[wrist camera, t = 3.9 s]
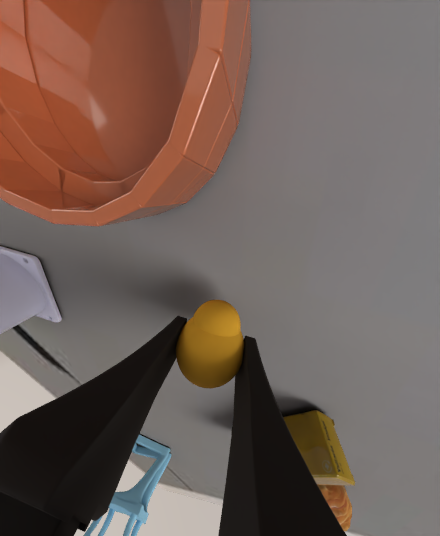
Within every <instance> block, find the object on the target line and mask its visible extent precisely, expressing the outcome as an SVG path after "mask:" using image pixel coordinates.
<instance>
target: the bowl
mask: <svg viewBox="0 0 440 536" xmlns="http://www.w3.org/2000/svg"><path fill="white" fill-rule="evenodd" d="M250 58H251V22H250V0H0V198H1V199H2V200H4V201H5V202H6V203H8V204H10V205H12V206H14V207H17V208H19V209H21V210H24V211H26V212H28V213H30V214H33V215H35V216H37V217H40V218H42V219H44V220H47V221H49V222H51V223H53V224H63V225H82V226H104V225H109V224H114V223H119V222H124V221H129V220H134V219H139V218H144V217H149V216H154V215H158V214H161V213H163V212H166V211H168V210H170V209H173V208H175V207H178V206H180V205H183V204H185V203H187V202H188V201H189V200H190V199H191V198H192V197H193V196H194V195H195V194H196V193H197V192H198V191H199V190H200V189H201V188H202V187H203V186H204V185H205V184H206V183H207V181H208V180H209V179H210V178H211V177H212V176H213V175H214V173H216V171H217V169H218V167H219V164H220V162H221V160H222V158H223V156H224V154H225V152H226V150H227V148H228V146H229V144H230V141H231V139H232V137H233V135H234V133H235V131H236V129H237V126H238V124H239V119H240V113H241V108H242V102H243V97H244V91H245V86H246V80H247V75H248V69H249V64H250Z"/></svg>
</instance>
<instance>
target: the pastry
mask: <svg viewBox="0 0 440 536" xmlns="http://www.w3.org/2000/svg"><path fill="white" fill-rule="evenodd" d="M318 487H319V489H320V490H321V492H322V494H323V496H324V498H325V499H326V501H327V503H328V505H329V506H330V508H331V510H332V512H333V513H334V515H335V517H336V518H337V520H338V522H339V524H340V525H341V527H342V529H343V530H344V531H347V530H348V528H349V527H350V520H351V517H352V506H351V503H350V500H349V498H348V496H347V493H346V490H345V487H344V485H318Z"/></svg>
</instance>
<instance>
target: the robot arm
mask: <svg viewBox="0 0 440 536" xmlns="http://www.w3.org/2000/svg"><path fill="white" fill-rule="evenodd" d="M34 315H35V316H38V317H41V318H44V319H47V320H50V321H53V322H59V321H61V320H62V318H61V315H60V312H59V310H58V307H57V305H56V302H55V299H54V297H53V294H52V291H51V289H50V286H49V284H48V281H47V278H46V276H45V273H44V271H43V268H42V265H41V263H40V261H39V259H38V258H37V257H36V256H33V255H30V254H26V253H23V252H19V251H16V250H12V249H9V248H5V247H2V246H0V334H1V333H3V332H5V331H7V330H9V329H11V328H12V327H14V326H16V325H18V324H20V323H22V322H23V321H25V320H27V319H29V318H31V317H33V316H34ZM186 323H187V318H184V317H180V316H177V317H176V318H175V319H174V320H173V321H172V322H171V323H170V324H169V325H167V326H166V327H165V328H164V329H163V330H162V331H161V332H159V333H158V334H157V335H156V336H155V337H153V338H152V339H151V340H150V341H149V342H147V343H146V344H145V345H143V346H142V347H141V348H139V349H138V350H137V351H135V352H134V353H133V354H131V355H130V356H128V357H127V358H125V359H124V360H123V361H121V362H120V363H118V364H116V365H115V366H113V367H112V368H110V369H109V370H107V371H105V372H104V373H102V374H100V375H99V376H97V377H95V378H94V379H92V380H90V381H88V382H87V383H85V384H83V385H81V386H79V387H77V388H76V389H74V390H72V391H70V392H68V393H67V394H65V395H63V396H61V397H59V398H57V399H55V400H53V401H51V402H49V403H47V404H45V405H43V406H41V407H39V408H37V409H35V410H33V411H31V412H29V413H27V414H24V415H22V416H20V417H19V418H17V419H16V420H15V421H14V422H12V423H11V424H10V425H9V426H8V427H7V428H6V429H4V430H3V431H2V432H1V433H0V536H74V534H75V532H76V530H77V529H80V530H82V531H84V532H85V531H86V529H87V527H88V525H89V523H90V521H91V519H92V520H94V521H96V520H98V519H99V518H100V517H101V516H103V515H104V514H105V513H106V512H107V510H108V508H109V505H110V503H111V500H112V498H113V496H114V493H115V490H116V488H117V486H118V483H119V481H120V478H121V476H122V473H123V471H124V469H125V466H126V464H127V461H128V459H129V457H130V454H131V452H132V450H133V447H134V445H135V443H136V440H137V438H138V436H139V433H140V431H141V429H142V426H143V424H144V422H145V419H146V417H147V415H148V413H149V410H150V408H151V406H152V404H153V402H154V399H155V397H156V395H157V393H158V391H159V389H160V388H161V386H162V384H163V382H164V380H165V378H166V376H167V375H168V373H169V371H170V369H171V367H172V365H173V363H174V361H175V360H176V358H177V357H176V345H177V341H178V338H179V335H180V333H181V331H182V328H183V327H184V325H185V324H186ZM219 536H347V535H346V534H345V532H344V530H343V529H342V527H341V525H340V524H339V522H338V520H337V518H336V517H335V515H334V513H333V512H332V510H331V508H330V506H329V505H328V503H327V501H326V499H325V498H324V496H323V494H322V492H321V490H320V489H319V487H318V485H317V483H316V481H315V480H314V478H313V476H312V474H311V472H310V470H309V469H308V467H307V465H306V463H305V461H304V459H303V457H302V455H301V453H300V451H299V449H298V447H297V445H296V444H295V442H294V440H293V438H292V435H291V433H290V431H289V429H288V427H287V425H286V423H285V421H284V418H283V416H282V414H281V412H280V409H279V407H278V405H277V402H276V400H275V397H274V395H273V392H272V390H271V387H270V385H269V382H268V379H267V376H266V373H265V370H264V367H263V364H262V361H261V358H260V354H259V351H258V347H257V343H256V339H255V338H252V337H248V336H245V338H244V352H243V359H242V363H241V367H240V369H239V371H238V372H237V374H236V375H235V394H234V416H233V429H232V437H231V446H230V454H229V462H228V470H227V478H226V485H225V493H224V500H223V508H222V515H221V522H220V529H219Z"/></svg>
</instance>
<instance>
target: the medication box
mask: <svg viewBox="0 0 440 536" xmlns="http://www.w3.org/2000/svg"><path fill="white" fill-rule="evenodd" d="M283 418H284V421H285V423H286V425H287V427H288V429H289V431H290V433H291V435H292V438H293V440H294V442H295V444H296V445H297V447H298V449H299V451H300V453H301V455H302V457H303V459H304V461H305V463H306V465H307V467H308V469H309V470H310V472H311V474H312V476H313V478H314V480H315V481H316V483H317V485H355V481H354V478H353V475H352V474H351V472H350V469H349V466H348V463H347V460H346V458H345V455H344V452H343V449H342V447H341V444H340V442H339V439H338V436H337V434H336V431H335V428H334V425H335V424H334V421H333V420H332V419H331V418H329V417H328V416H326V415H324V414H323V413H321V412H319V411H317V410H314V411H309V412H304V413H300V414H295V415H291V416H286V417H283ZM232 429H233V427H232Z"/></svg>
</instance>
